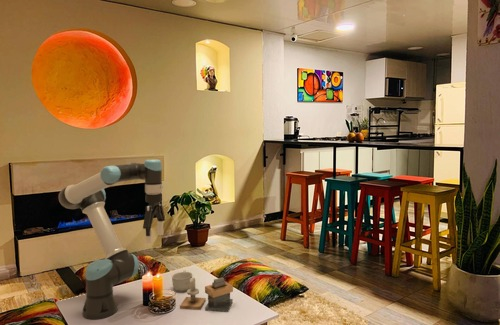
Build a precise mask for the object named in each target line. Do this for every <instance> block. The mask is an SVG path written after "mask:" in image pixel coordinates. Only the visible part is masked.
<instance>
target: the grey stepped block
mask: <svg viewBox="0 0 500 325" xmlns="http://www.w3.org/2000/svg"><path fill="white" fill-rule="evenodd" d="M226 282H227V281H226V280H225V278H224V277H219V278H215V279H213V282H212V283H211V285H212V288H213V289H217V288H221V287H224V286H226ZM207 301H208V302H207V304H206V306H205V308H204V311H205V312H217V313H218V312H219V313H221V312H222V313H229V311H230V309H231V306H232V304H233V298H231V293H227V294H224V295H221V296H217V297H214V298H213V297H211V296H210V295H208V294H207Z"/></svg>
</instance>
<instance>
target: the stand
mask: <svg viewBox="0 0 500 325" xmlns="http://www.w3.org/2000/svg"><path fill="white" fill-rule="evenodd" d="M199 292H200V290H199V289H198V288H196V278H195V277H192V278H190V288H189V289H188V290H187V291H186V294H187V295H188V296H185V298H184V299H183V301H182V302H181V303H180V305H179V310H180V309H181V310H196V311H201V310H202V308H203V306H204V305H205V302H206V301H207V299H206V297H199V296H198V297H196V295H198V294H199Z"/></svg>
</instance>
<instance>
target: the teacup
mask: <svg viewBox="0 0 500 325" xmlns="http://www.w3.org/2000/svg"><path fill="white" fill-rule="evenodd" d="M190 278H193V273H192V272H190V271H186V270H183V271H180V272H179V271H178V272H175V273H174V274H172V275H171V279H172V280H171V282H172V287H173V289H174V290H176V292H177V291H178V292H187V290H189V289H190Z"/></svg>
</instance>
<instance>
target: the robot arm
mask: <svg viewBox="0 0 500 325" xmlns="http://www.w3.org/2000/svg"><path fill="white" fill-rule="evenodd" d="M162 168H163V166H162V160H160V159H157V158H156V159H145V160H144V162H143V163H139V162H138V163H137V162H129V163H126V164H115V165H113V164H112V165H107V166H104V167H102V168H101V170H100V172H98V173H96V174H94V175H92V176H91V177H88V178H86V179H84V180H82V181H80V182H79V183H77V184H69V185H68V186H65V187H64V188H62V189H61V190H60V192H59V193H58V201H59V203H60V205H61V206H62V207H63V208H65V209H69V210H76V209H81V210H80V211H81V212H82V214H85V215H86V216H87V217H88V220H89V221H90V224H91V225H92V228H93V230H94V233H95V235H96V237H97V239H98V241H99V244H100V246H101V248H102V251H103V252H104V253H105V258H103V259H97V260H94V261H92V262H90V263H89V264H88V265H87V266H86V268H85V275H84V278H85V293H86V294H85V296H86V298H85V302H84V305H83V307H82V316H83V318H85V319H88V320H101V319H105V318H109V317H111V316H113V315H115V314H116V313H117V311H118V303H117V300H116V298H115V295H114V286H116V285H118V284H121V283H122V282H124V281H128V280H130V279H131V278H134V277H135V276H137V273H138V272H139V263H140V262H139V259H138V257H137V256H136V255H135V254H134V253H129V250H128V249H127V248H125V247H123V245H122V243H121V241H120V239H119V237H118V235H117V233H116V231H115V229H114V226H113V224H112V222H111V220H110V217H109V215H108V214H107V212H106V209H105V204H106V199H107V196H106V195H107V194H106V191H105V189H107V188H109V187H111V186H113V185H115V184H117V183H121V182H126V181H128V182H129V181H135V180H142V181H143V180H144V193H145V194H144V198H145V202H146V203H148V205H146V206H145V212H144V219H143V223H142V225H143V226H142V229H143V230H145V243H146V244H153V228H152V224H153V221H154V217H156V219H157V221H156V227H157V228H156V232H157V234H156V235H157V236H163V235H164V222H165V221H166V217H165V212H164V208H163V193H162V192H163V188H164V186H163V185H162V184H163V182H162V179H163V176H162V175H163V173H162V172H163V169H162Z"/></svg>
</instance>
